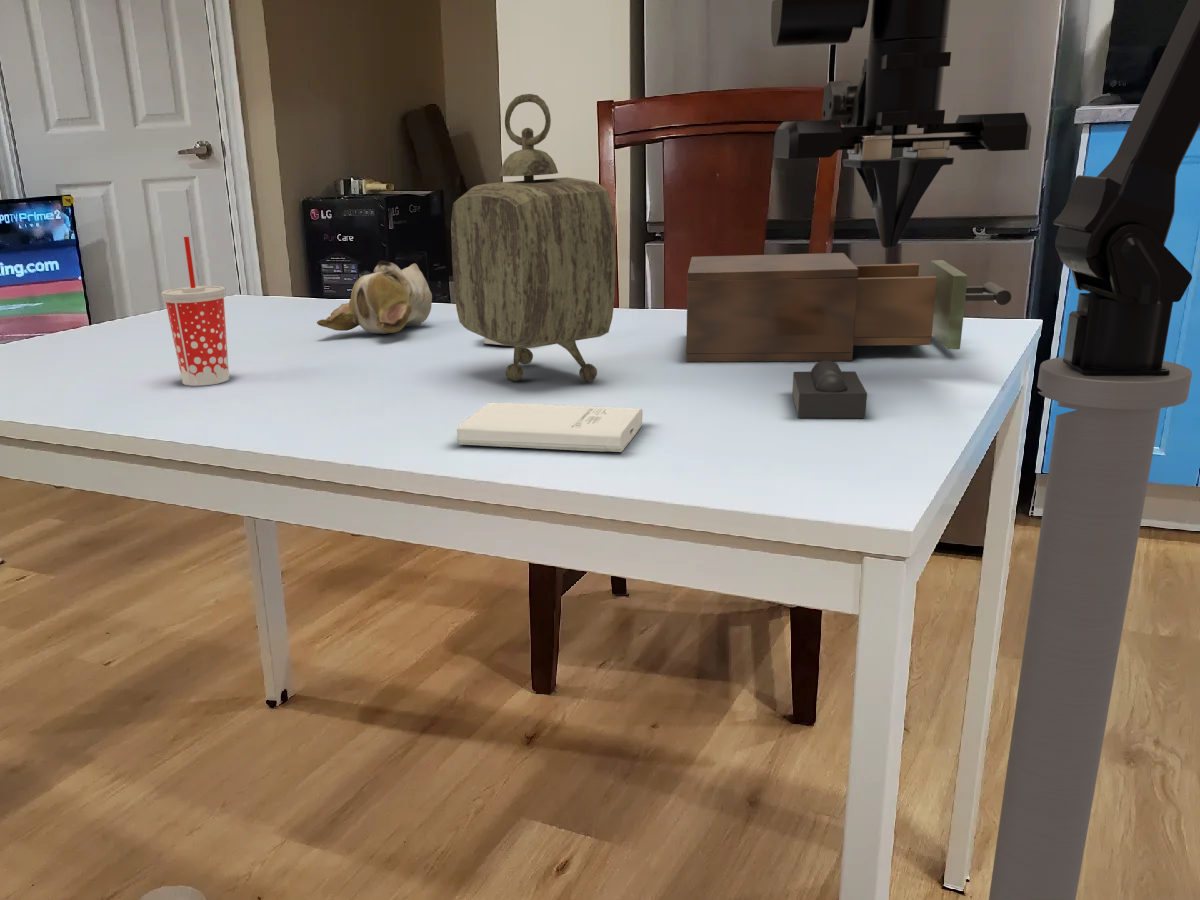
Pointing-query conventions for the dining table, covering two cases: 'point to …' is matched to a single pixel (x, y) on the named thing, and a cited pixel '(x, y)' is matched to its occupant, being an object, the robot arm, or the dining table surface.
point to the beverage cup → (198, 330)
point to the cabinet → (771, 308)
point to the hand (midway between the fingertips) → (888, 247)
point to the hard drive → (551, 427)
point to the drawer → (915, 304)
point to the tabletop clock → (534, 255)
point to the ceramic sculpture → (384, 301)
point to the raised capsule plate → (828, 392)
